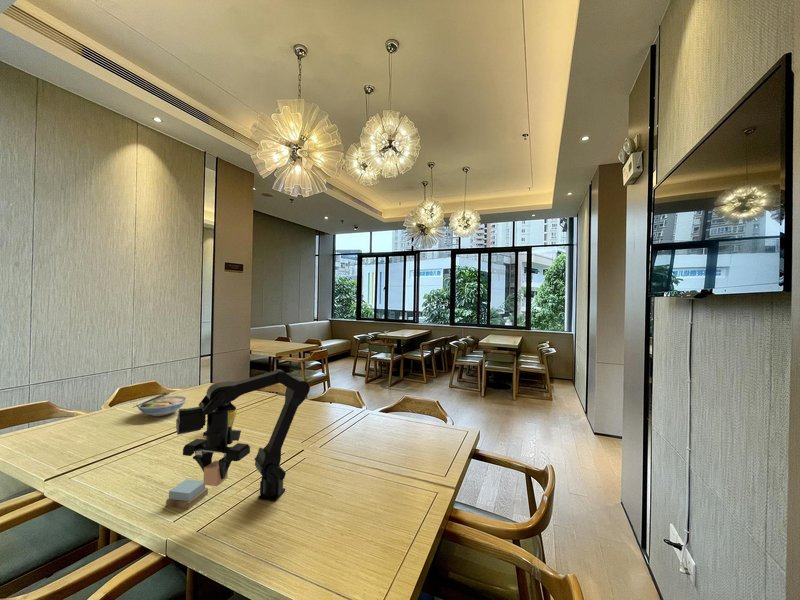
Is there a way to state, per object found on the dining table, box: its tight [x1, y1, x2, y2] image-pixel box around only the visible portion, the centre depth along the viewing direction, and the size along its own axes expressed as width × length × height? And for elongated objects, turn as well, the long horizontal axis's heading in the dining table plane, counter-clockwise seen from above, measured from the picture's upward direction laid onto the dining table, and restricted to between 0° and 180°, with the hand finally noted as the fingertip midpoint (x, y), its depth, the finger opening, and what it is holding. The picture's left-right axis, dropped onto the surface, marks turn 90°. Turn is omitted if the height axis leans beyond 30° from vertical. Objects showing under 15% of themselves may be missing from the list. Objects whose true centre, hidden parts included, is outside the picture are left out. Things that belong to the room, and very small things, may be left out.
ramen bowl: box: [131, 392, 188, 417], centre depth 179 cm, size 25×23×8 cm
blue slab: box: [168, 478, 206, 501], centre depth 104 cm, size 7×7×2 cm
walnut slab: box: [165, 487, 209, 510], centre depth 104 cm, size 8×8×2 cm
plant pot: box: [228, 408, 238, 429], centre depth 160 cm, size 10×10×10 cm
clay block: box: [203, 460, 229, 487], centre depth 97 cm, size 4×4×5 cm
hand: (215, 477), depth 97 cm, fingers closed on clay block, 4 cm apart
